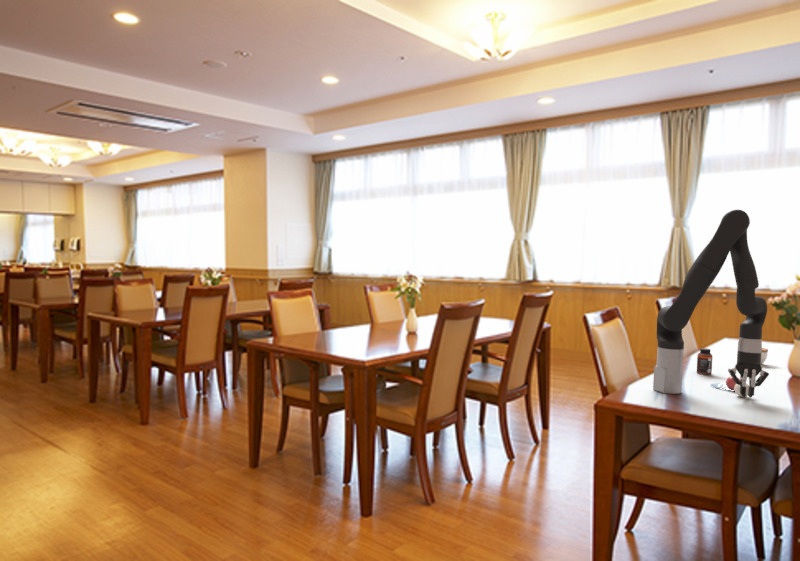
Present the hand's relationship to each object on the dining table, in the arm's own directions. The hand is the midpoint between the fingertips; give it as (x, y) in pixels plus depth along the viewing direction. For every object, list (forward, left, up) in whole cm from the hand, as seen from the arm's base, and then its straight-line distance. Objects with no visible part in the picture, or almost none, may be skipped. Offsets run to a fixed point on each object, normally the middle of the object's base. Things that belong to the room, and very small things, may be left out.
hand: (746, 396), depth 207 cm
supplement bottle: (+19, +41, -2) cm, 46 cm away
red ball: (+8, +14, +1) cm, 16 cm away
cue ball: (+3, +5, +1) cm, 6 cm away
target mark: (+10, +17, -2) cm, 20 cm away
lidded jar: (+64, +57, -2) cm, 86 cm away
